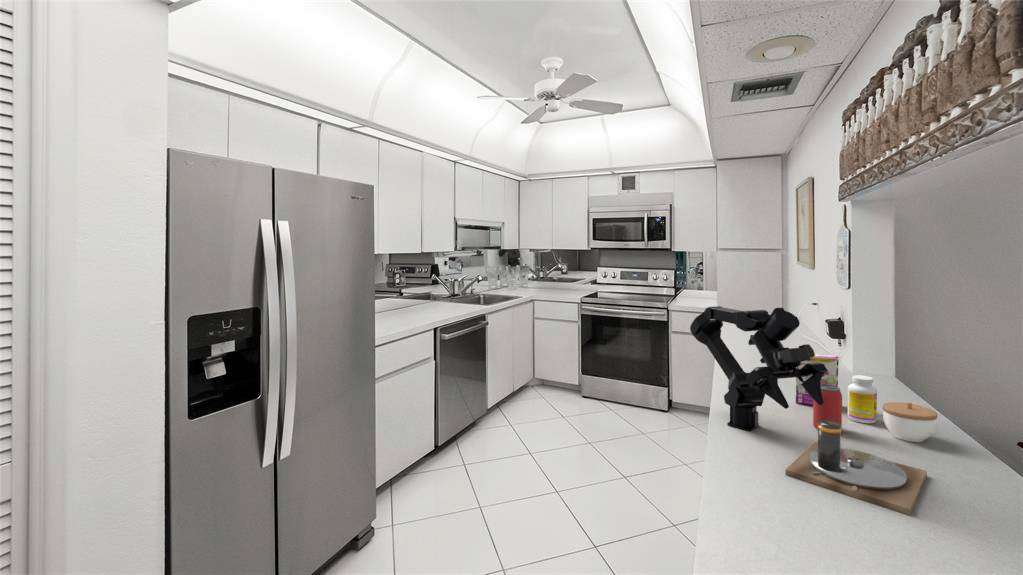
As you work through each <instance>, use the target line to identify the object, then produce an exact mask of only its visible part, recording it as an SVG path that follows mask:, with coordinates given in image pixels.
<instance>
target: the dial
mask: <svg viewBox="0 0 1023 575" xmlns="http://www.w3.org/2000/svg"><path fill="white" fill-rule="evenodd" d="M841 435H842V430H841V425H840V424H839V423H837V422H834V421H829V420H820V421H818V429H817V442H818V449H816V450H814V451H812V452H811V453H810V454H809V462H810V464H811V466H812V467H813V468H814V469H815V470H816V471H818V472H820V473H821V474H823V475H825V476H827V477H829V478H831V479H833V480H836V481H839V482H841V483H844V484H848V485H851V486H857V487H860V488H865V489H871V490H886V491H887V490H897V489H901V488H903V487H904V486H905V485H906V484H907V475H906V473H905V472H904V471H903V470H902V469H901V468H900V467H898V466H897V465H895V464H893V463H891V462H892V461H891V462H890V460H887V459H885V458H882V457H880V456H876V455H873V454H871V453H867V452H864V451H860V450H856V449H848V448H841V437H842V436H841Z"/></svg>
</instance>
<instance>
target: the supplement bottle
mask: <svg viewBox="0 0 1023 575" xmlns="http://www.w3.org/2000/svg"><path fill="white" fill-rule="evenodd" d="M851 380H852V383H851V384H849V385H848V386H847V418H848V419H850V421H853V422H856V423H861V424H862V423H863V424H875V423H876V422H877V412H878V407H877V406H878V390H877V389H876V387H874V386H873V383H874V378H873V377H871V376H866V375H859V374H855V375H852V377H851Z"/></svg>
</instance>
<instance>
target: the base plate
mask: <svg viewBox="0 0 1023 575" xmlns="http://www.w3.org/2000/svg"><path fill="white" fill-rule="evenodd" d="M816 449H818V441H814V442H813V443H812V444H811V445H809V447H807V448H806V449H805V450H804V451H803V452H802V453H801V454H800V455H799V456H798V457H797V458H796V459H795V460H794V461H793V462H792V463H791V464H790V465H789V466H788V467H787V468H785V476H789V477H792V478H795V479H797V480H801V481H803V482H807V483H810V484H813V485H816V486H820V487H822V488H825V489H828V490H831V491H834V492H838V493H840V494H844V495H846V496H850V497H853V498H856V499H858V500H862V501H864V502H868V503H871V504H874V505H878V506H879V507H884V508H887V509H889V510H892V511H896V512H898V511H899V512H898V513H902V514H905V515H909V516H911V514H912V512H913V509H914V507H915V505H916V502H917V500H918V498H919V495H920V493H921V491H922V488H923V486H924V484H925V482H926V479H927V477H928V471H927V470H924V469H920V468H916V467H913V466H909V465H906V464H901V463H898V462H894V461H890V460H889V461H890V462H891V463H893V464H895V465H897V466H898V467H900V468H901V469H902V470H903V471H904V472H905V473H906V475H907V484H906V485H905V486H904V487H903V488H901V489H897V490H887V491H886V490H871V489H865V488H860V487H857V486H851V485H848V484H844V483H841V482H839V481H836V480H833V479H831V478H829V477H827V476H825V475H823V474H821V473H820V472H818V471H816V470H815V469H814V468H813V467H812V466H811V464H810V462H809V454H810V453H811V452H812V451H814V450H816Z"/></svg>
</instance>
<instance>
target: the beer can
mask: <svg viewBox="0 0 1023 575" xmlns="http://www.w3.org/2000/svg"><path fill="white" fill-rule="evenodd" d="M820 386H821V392H822V397H823V402H824V404H823V405H821V406H820V405H819V404H818V403H817V402H816V401H815V400H814V399H813V405H812V409H813V410H812V411H813V412H812V425H813V426H814V428H815V429H817V430H818V421H820V420H829V421H834V422H837V423H839V424H840V425H841V431H842V429H843V426H842V425H843V395H842V394H843V393H842V392H841V388H840V387H839V386H838V387H836V386H832V385H825V384H820Z"/></svg>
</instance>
